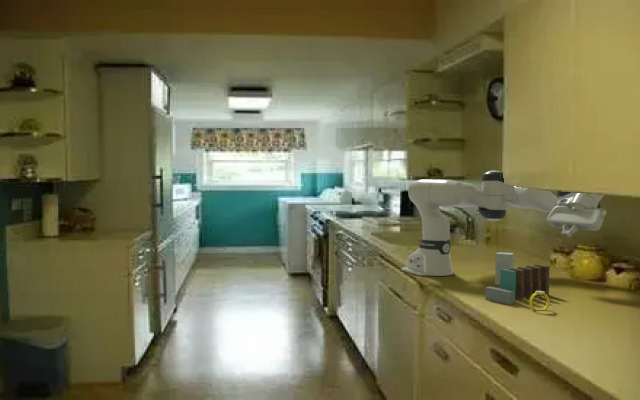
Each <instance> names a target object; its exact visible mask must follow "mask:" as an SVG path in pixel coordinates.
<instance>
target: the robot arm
mask: <svg viewBox="0 0 640 400" xmlns="http://www.w3.org/2000/svg"><path fill="white" fill-rule="evenodd" d="M503 173H504V172H503V171H500V170H497V169H496V170H493V169H492V170H489V171H486V172H484V173H483V174H482V176H481V185H480V187H481V188H479V186H477V185H476V184H473V183H470V182H464V181H459V180H454V179H442V178H441V179H436V178H434V179H433V178H432V179H431V178H428V179H427V178H422V179H421V178H420V179H417V180H414V181H412V182H411V183H410V185H409V186H408V190H407V193H408V198H409V200H410V202H412V203H413V204H414V205H415V206H416V208H417V210H418V212H419V215H420V219H421V225H422V227H421V229H422V230H421V232H422V233H421V235H422V239H420V240H419V239H418V240H417V244H419V246H418V248H417V249H416V250H415V251H413V253H411V254H410V255H408V257H407V261H406V262H407V265H406V266H403V267H401V271H403V272H406V273H410V274H413V275H417V276H432V277H439V276H440V277H441V276H442V277H443V276H444V277H445V276H451V275H454V272H453V266H452V259H451V258H452V257H451V247H452V246H451V245H452V243H451V239H450V236H451V235H450V232H451V231H450V230H451V223H450V220H449V219H448V217H446V216H445V215H444V214H443V213H442V212H441V209H440V207H446V208H471V207H477V210H476V212H478V213H479V214H480V216H481V218H484V219H485V220H488V221H491V222H497V221H500V220H503V219H505V217H506V215H507V203H508V205H510V206H512V207H514V208H519V209H525V210H527V209H529V210H530V209H531V210H537V211H540V212H543V213H547V214H548V216H547V217H546V222H547V223H548V225H549V226H550V227H551V228H552V227H553V228H562V231H561V233H560V235H561V236H562V237H565V238H566V237H567V238H571V237H572V235H573V234H575V233H576V232H578V231H579V230H584V231H591V232H592V231H593V232H594V231H595V232H596V231H599V230H600V229H601V227H602V225H603V222H604V218H605V217H606V215H607V209H605V208H602V207H601V203H600V201H601V200H602V199H603V197H604V195H605V194H604V195H597V194H586V193H573V192H561V191H558V190H557V193H556V194H557V196H556V195H555V194H553V193H552V192H551V191H550V190H549V191H545V190H537V189H528V188H521V187H516V186H510V185H506V184H504V178H503Z"/></svg>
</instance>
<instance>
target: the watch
mask: <svg viewBox="0 0 640 400" xmlns="http://www.w3.org/2000/svg"><path fill="white" fill-rule="evenodd" d="M537 294H540V295H541V296H545V298H546V303H545V306H544V307H542V308H536V307H534V305H533V300H534V298H535V297H536V295H537ZM550 303H551V302H550V298H549V295H546V294H545V292H544V291H535V293H534V294H532V296H531V297H530V298H529V305H530V308H531V309H532V310H534V311H535V310H540V311H541V310H543V311H544V310H545V311H546V310H547V309H548V308H549V306H550Z"/></svg>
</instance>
